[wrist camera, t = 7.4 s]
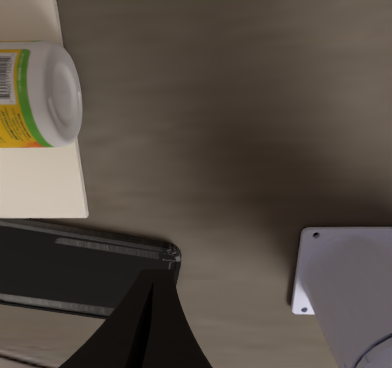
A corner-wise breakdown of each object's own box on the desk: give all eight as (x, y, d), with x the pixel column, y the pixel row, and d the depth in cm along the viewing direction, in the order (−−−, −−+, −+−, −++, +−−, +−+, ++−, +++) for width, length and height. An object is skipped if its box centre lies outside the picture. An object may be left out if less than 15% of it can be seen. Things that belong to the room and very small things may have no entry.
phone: (166, 328, 27) (-20, 301, 26) (167, 317, 28) (-12, 291, 27) (184, 250, 24) (-28, 215, 23) (184, 241, 25) (-18, 208, 24)
